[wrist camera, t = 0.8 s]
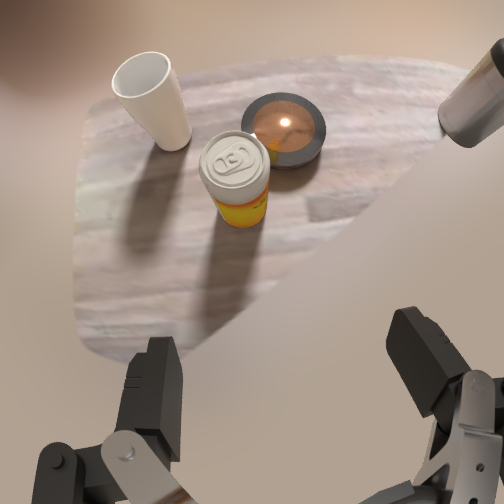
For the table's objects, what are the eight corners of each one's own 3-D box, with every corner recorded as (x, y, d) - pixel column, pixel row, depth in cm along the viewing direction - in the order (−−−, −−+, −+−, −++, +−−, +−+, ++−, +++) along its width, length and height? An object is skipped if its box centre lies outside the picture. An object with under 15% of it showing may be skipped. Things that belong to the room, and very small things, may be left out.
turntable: (300, 91, 40) (302, 83, 38) (337, 153, 38) (341, 146, 36) (229, 115, 40) (228, 107, 37) (262, 182, 38) (262, 176, 36)
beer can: (275, 215, 39) (284, 172, 24) (232, 237, 39) (216, 207, 24) (252, 175, 39) (248, 115, 25) (211, 197, 39) (184, 147, 24)
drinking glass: (196, 112, 41) (171, 44, 26) (199, 152, 40) (171, 89, 25) (152, 122, 41) (113, 60, 26) (152, 161, 40) (107, 106, 25)
